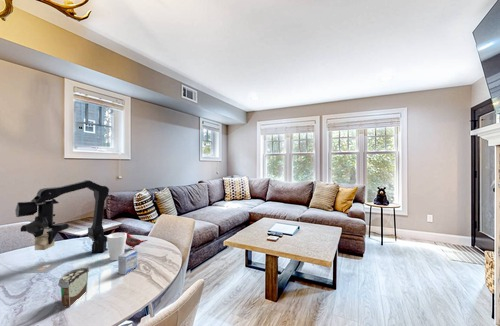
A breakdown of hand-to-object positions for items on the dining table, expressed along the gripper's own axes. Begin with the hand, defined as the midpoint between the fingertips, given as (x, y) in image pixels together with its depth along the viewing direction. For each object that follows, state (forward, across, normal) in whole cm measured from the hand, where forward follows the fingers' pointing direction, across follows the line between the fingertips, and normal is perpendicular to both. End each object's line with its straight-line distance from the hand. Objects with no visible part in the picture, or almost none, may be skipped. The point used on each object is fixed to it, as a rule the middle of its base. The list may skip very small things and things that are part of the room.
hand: (44, 244), depth 111 cm
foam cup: (+12, +30, +10) cm, 34 cm away
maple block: (+2, 0, 0) cm, 2 cm away
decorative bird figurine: (+12, +34, +23) cm, 43 cm away
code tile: (+12, 0, 0) cm, 12 cm away
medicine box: (+12, +43, -5) cm, 45 cm away
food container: (+12, +32, -28) cm, 44 cm away
